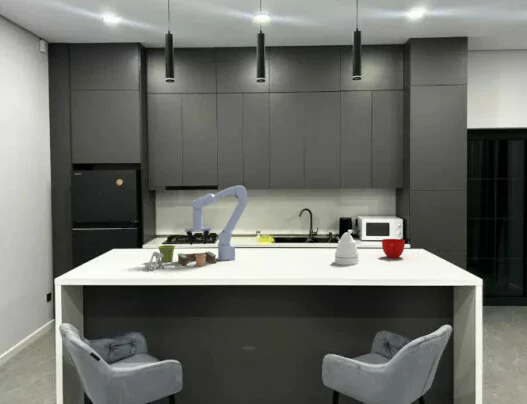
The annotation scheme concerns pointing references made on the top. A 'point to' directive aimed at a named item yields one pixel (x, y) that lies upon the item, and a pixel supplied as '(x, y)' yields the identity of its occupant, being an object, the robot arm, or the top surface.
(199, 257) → the seedling pot
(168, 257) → the plant pot
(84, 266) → the top surface
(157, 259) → the portable electronic device stand
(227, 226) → the robot arm
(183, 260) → the green brown u-shaped frame
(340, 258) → the honey pot
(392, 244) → the ceramic cup
